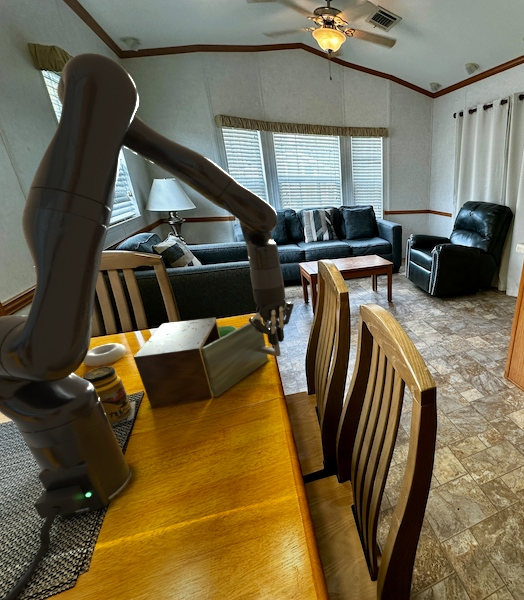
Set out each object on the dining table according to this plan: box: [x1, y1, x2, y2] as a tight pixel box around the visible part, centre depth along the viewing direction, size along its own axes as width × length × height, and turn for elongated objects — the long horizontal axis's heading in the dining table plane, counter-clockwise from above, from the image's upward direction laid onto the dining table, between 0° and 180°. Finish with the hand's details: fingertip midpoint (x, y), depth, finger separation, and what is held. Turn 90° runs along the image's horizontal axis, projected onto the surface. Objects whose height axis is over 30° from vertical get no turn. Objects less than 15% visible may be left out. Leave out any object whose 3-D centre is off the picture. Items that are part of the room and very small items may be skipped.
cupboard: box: [133, 317, 221, 409], centre depth 85 cm, size 13×18×14 cm
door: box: [201, 321, 282, 398], centre depth 85 cm, size 8×18×14 cm, turn 159°
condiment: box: [82, 365, 137, 427], centre depth 72 cm, size 7×8×12 cm
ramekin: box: [218, 325, 237, 337], centre depth 105 cm, size 9×9×4 cm
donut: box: [82, 342, 127, 367], centre depth 97 cm, size 10×4×10 cm
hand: (276, 342), depth 89 cm, fingers closed
